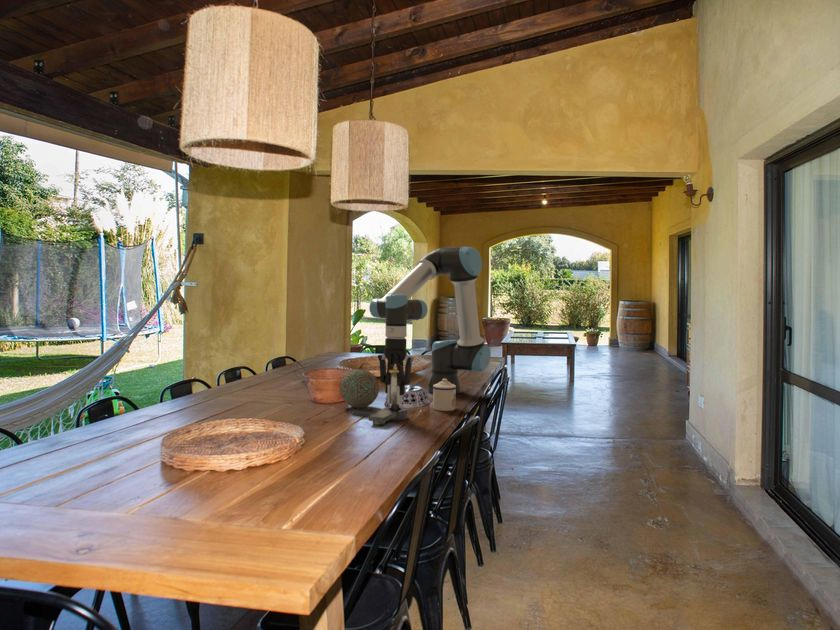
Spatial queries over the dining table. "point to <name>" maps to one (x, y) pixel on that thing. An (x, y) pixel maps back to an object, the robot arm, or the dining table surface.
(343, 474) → the dining table surface
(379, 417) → the grey flat angular block
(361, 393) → the decorative sphere
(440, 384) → the beige lidded jar
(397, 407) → the pin
